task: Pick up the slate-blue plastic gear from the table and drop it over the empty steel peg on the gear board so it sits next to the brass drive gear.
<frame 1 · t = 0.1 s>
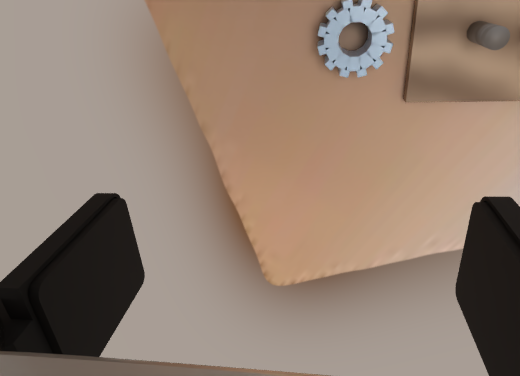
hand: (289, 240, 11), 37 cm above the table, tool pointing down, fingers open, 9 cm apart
blue gear: (352, 34, 42), on the table
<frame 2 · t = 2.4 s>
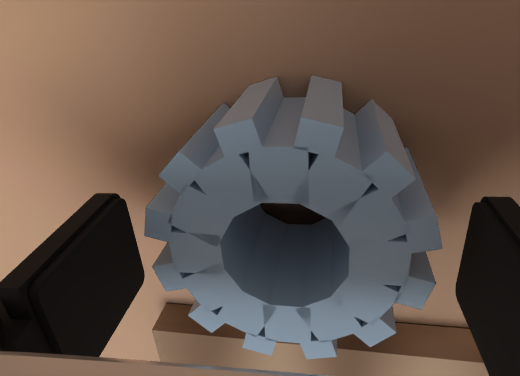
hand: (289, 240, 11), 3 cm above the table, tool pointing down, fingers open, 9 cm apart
blue gear: (297, 184, 13), on the table
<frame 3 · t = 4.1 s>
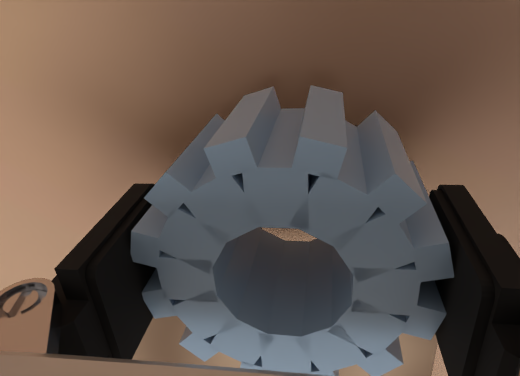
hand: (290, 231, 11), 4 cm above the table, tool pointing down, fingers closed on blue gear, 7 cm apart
blue gear: (295, 200, 12), point 3 cm above the table, touching gripper
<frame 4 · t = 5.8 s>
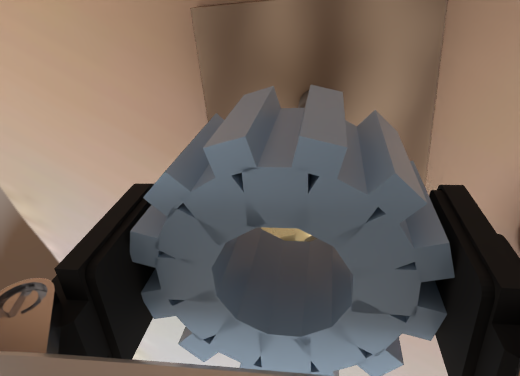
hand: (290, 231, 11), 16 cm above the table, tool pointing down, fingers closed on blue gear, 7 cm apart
blue gear: (295, 199, 12), point 15 cm above the table, touching gripper
gear board: (317, 167, 28), on the table
brass drive gear: (318, 215, 29), resting on gear board
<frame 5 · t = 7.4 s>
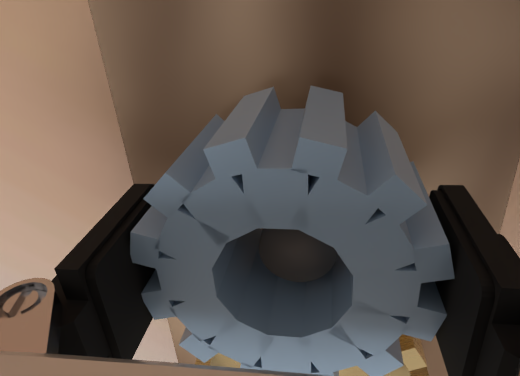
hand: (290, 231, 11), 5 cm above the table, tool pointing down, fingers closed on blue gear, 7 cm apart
blue gear: (295, 200, 12), point 4 cm above the table, touching gripper
gear board: (310, 252, 18), on the table
brass drive gear: (310, 315, 20), resting on gear board
when the fingers open (4 cm above the table, at t = 8.5 s): blue gear stays where it is, resting on gear board.
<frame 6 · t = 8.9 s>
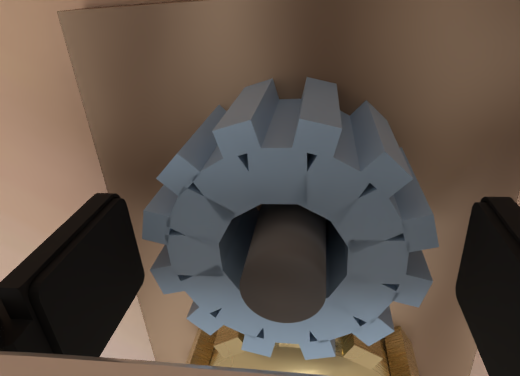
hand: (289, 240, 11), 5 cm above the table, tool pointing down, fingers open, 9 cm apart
blue gear: (293, 186, 13), point 1 cm above the table, touching gear board
gear board: (301, 275, 17), on the table
brass drive gear: (302, 339, 19), resting on gear board
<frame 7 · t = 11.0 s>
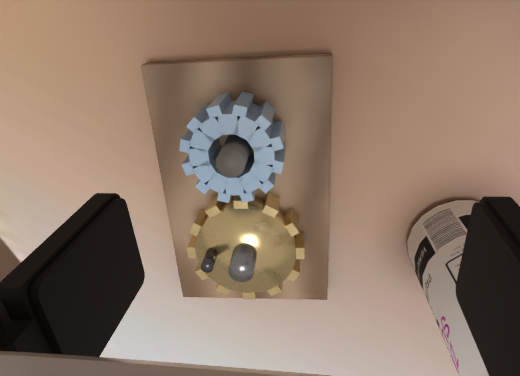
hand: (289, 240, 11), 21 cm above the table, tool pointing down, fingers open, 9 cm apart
blue gear: (239, 138, 31), point 1 cm above the table, touching gear board
gear board: (247, 188, 34), on the table
brass drive gear: (250, 227, 36), resting on gear board
supplement can: (452, 236, 34), on the table
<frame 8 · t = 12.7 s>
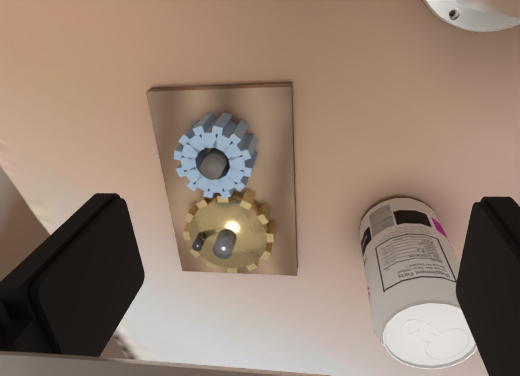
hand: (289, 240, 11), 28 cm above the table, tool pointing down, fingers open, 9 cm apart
blue gear: (222, 147, 39), point 1 cm above the table, touching gear board
gear board: (231, 186, 43), on the table
brass drive gear: (235, 216, 45), resting on gear board
supplement can: (397, 226, 42), on the table
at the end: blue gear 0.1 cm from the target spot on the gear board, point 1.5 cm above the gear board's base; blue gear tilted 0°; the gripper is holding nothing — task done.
